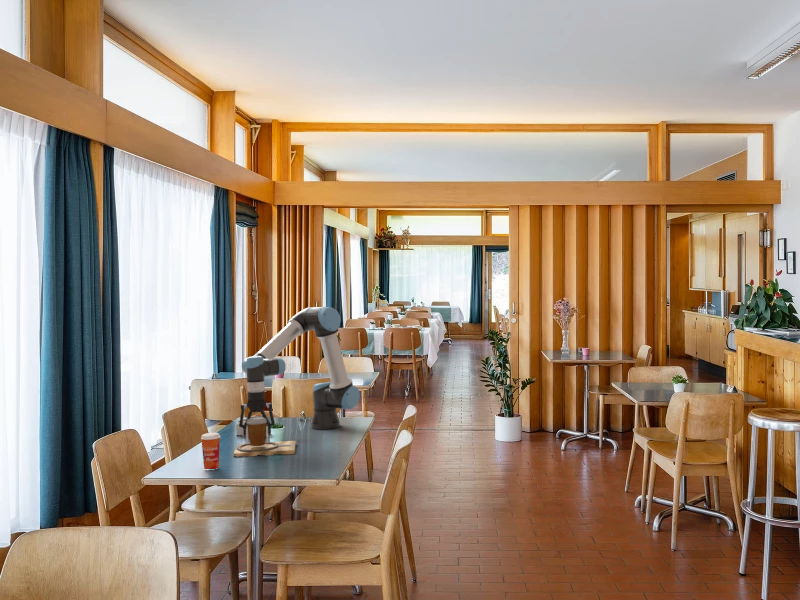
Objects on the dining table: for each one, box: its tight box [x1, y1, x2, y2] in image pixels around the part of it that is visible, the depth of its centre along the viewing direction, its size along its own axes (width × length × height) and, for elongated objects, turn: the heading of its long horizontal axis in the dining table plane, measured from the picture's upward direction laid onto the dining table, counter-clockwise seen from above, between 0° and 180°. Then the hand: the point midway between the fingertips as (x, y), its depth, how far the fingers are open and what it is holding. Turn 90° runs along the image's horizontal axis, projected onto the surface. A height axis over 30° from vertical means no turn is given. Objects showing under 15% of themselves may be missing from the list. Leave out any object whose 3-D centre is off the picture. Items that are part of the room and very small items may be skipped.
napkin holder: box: [235, 417, 270, 437], centre depth 345 cm, size 17×5×10 cm, turn 81°
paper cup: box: [200, 432, 221, 469], centre depth 279 cm, size 8×8×14 cm
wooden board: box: [233, 440, 297, 457], centre depth 310 cm, size 26×20×2 cm
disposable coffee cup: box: [247, 415, 267, 446], centre depth 309 cm, size 10×10×12 cm
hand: (257, 442), depth 310 cm, fingers closed on disposable coffee cup, 8 cm apart
